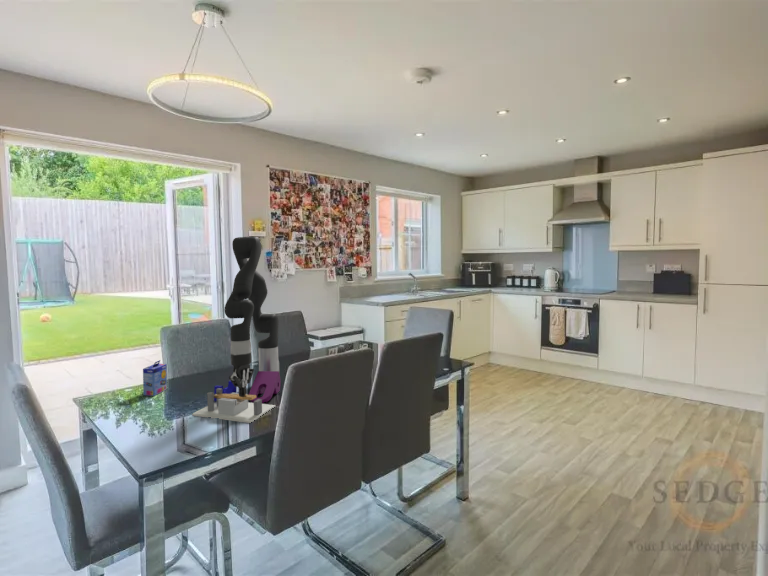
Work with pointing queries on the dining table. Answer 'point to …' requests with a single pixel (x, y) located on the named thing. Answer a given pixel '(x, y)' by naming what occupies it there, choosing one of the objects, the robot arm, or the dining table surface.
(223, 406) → the board
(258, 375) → the mounting bracket
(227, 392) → the cable clip
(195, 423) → the dining table surface
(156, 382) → the ink cartridge box
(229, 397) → the wooden strip
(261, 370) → the robot arm
